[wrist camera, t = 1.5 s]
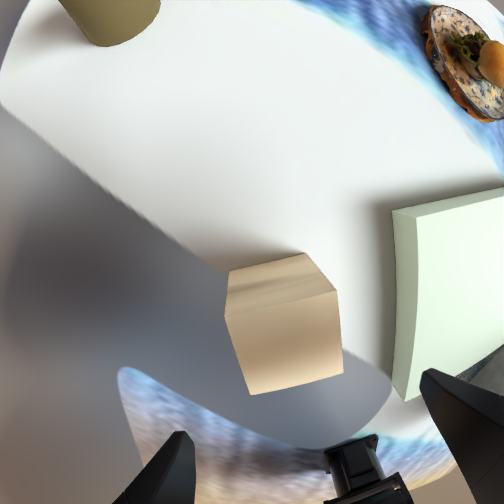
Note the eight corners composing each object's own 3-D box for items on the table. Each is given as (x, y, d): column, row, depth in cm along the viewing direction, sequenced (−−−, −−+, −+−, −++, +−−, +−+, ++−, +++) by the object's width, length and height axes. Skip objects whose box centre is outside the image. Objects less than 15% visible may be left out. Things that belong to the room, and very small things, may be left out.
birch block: (316, 319, 18) (343, 372, 13) (247, 335, 19) (250, 395, 13) (306, 252, 17) (336, 290, 11) (229, 270, 17) (224, 317, 11)
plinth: (497, 325, 20) (512, 336, 18) (391, 382, 21) (404, 402, 18) (509, 185, 16) (530, 189, 13) (391, 210, 17) (416, 217, 14)
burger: (505, 73, 13) (551, 65, 6) (491, 149, 16) (551, 152, 8) (429, -7, 11) (470, -36, 4) (402, 53, 14) (461, 18, 6)
